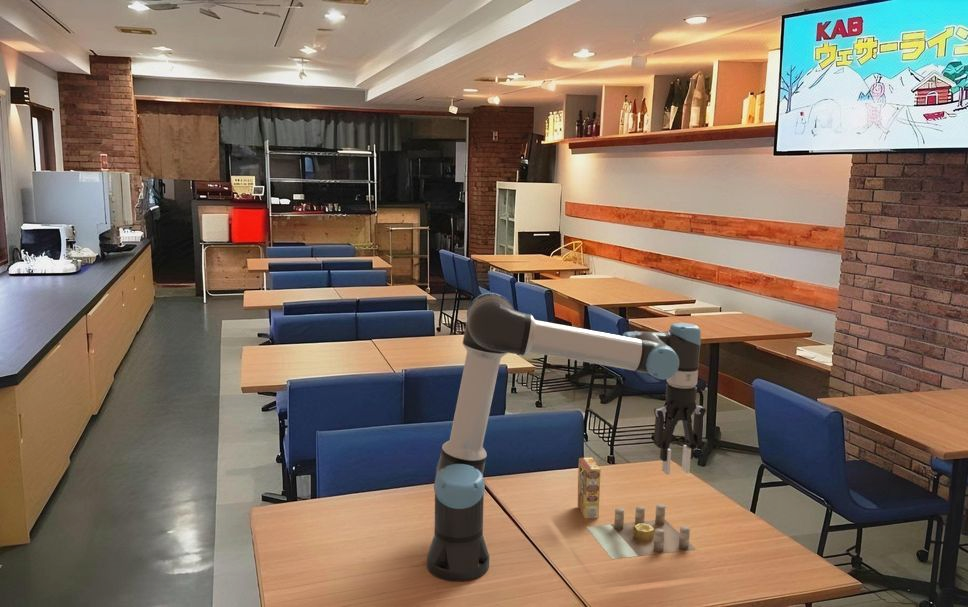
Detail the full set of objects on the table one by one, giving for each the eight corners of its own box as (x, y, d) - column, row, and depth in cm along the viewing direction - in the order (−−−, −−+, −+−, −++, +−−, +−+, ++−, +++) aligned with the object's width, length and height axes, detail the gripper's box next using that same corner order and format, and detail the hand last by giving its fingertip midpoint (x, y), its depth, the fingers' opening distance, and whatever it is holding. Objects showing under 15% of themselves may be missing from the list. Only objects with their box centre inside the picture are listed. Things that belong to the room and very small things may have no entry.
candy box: (599, 522, 202) (601, 469, 199) (584, 522, 201) (586, 469, 199) (590, 507, 210) (592, 456, 208) (575, 508, 210) (578, 457, 207)
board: (611, 563, 180) (613, 539, 179) (585, 531, 196) (586, 509, 195) (696, 553, 186) (698, 530, 185) (664, 523, 202) (665, 502, 201)
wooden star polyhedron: (639, 543, 188) (640, 532, 188) (631, 533, 193) (631, 523, 192) (655, 541, 189) (656, 531, 189) (646, 532, 194) (647, 522, 193)
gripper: (656, 390, 180) (650, 480, 184) (721, 386, 185) (714, 474, 189) (642, 382, 187) (637, 468, 191) (705, 378, 192) (699, 463, 196)
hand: (675, 471), depth 190 cm, fingers open, 5 cm apart
